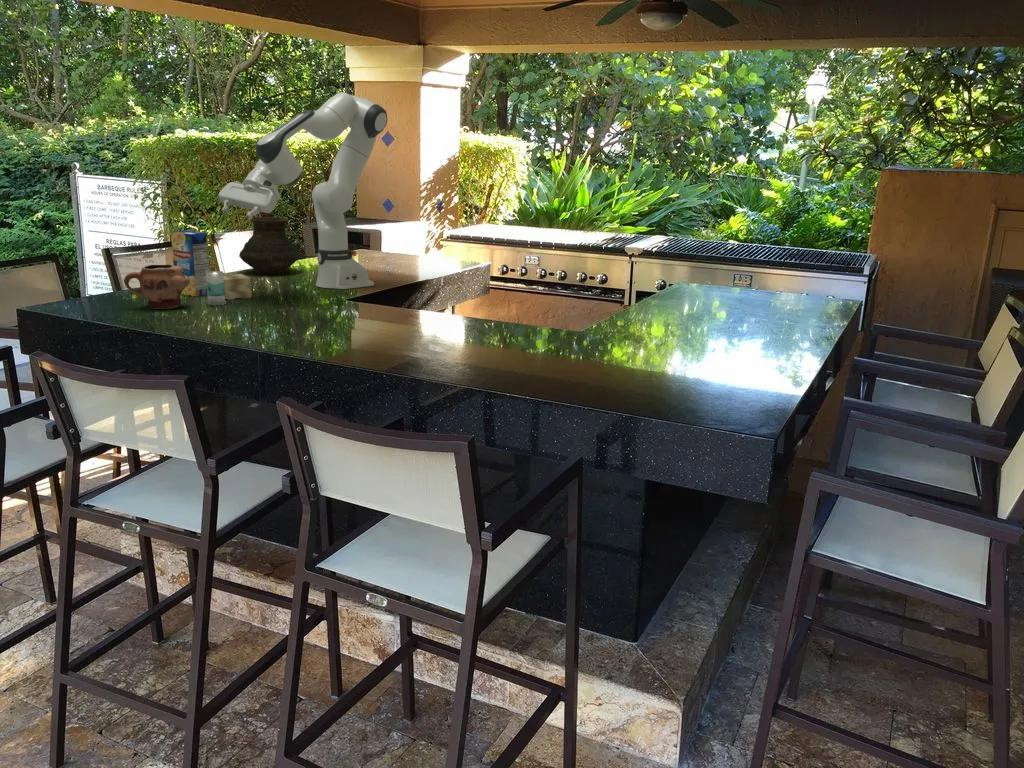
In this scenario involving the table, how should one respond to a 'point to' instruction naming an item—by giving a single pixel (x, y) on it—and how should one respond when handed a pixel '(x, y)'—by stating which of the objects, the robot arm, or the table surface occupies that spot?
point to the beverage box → (192, 259)
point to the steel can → (215, 288)
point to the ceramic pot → (269, 246)
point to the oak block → (237, 286)
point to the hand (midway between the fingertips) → (236, 214)
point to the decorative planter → (160, 285)
